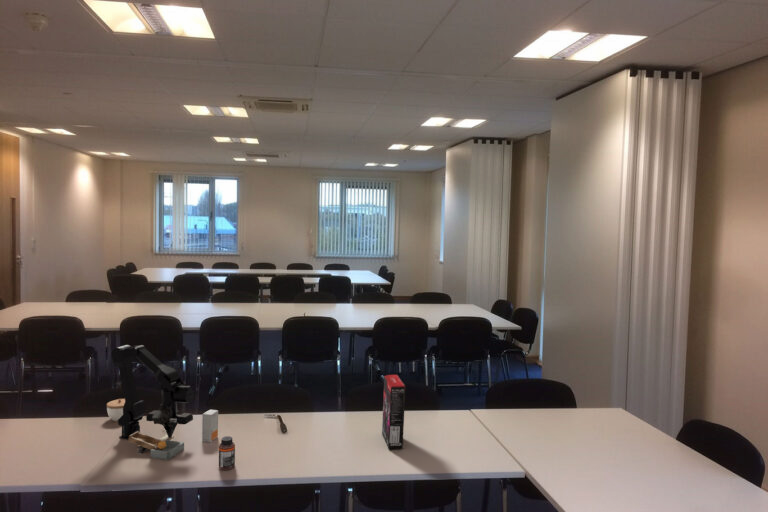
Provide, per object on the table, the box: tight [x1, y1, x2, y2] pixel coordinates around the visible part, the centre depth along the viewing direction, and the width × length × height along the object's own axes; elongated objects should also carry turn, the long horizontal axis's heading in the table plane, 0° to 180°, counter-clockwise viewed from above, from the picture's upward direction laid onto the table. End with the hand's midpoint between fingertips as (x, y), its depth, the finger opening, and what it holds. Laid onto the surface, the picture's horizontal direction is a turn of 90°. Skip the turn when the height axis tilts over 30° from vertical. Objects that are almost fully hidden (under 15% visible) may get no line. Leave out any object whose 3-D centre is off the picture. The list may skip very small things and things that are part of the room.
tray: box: [150, 440, 185, 461], centre depth 205 cm, size 8×10×3 cm
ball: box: [157, 441, 166, 450], centre depth 206 cm, size 3×3×3 cm
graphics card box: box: [381, 374, 406, 450], centre depth 222 cm, size 17×7×27 cm, turn 10°
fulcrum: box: [137, 446, 149, 455], centre depth 208 cm, size 2×6×2 cm, turn 167°
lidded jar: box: [106, 398, 125, 422], centre depth 241 cm, size 11×11×9 cm
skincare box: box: [201, 409, 219, 443], centre depth 220 cm, size 6×4×12 cm
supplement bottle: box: [218, 435, 236, 471], centre depth 195 cm, size 6×6×11 cm
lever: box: [127, 431, 175, 451], centre depth 212 cm, size 12×13×2 cm
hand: (170, 437), depth 215 cm, fingers closed, pressing on lever
